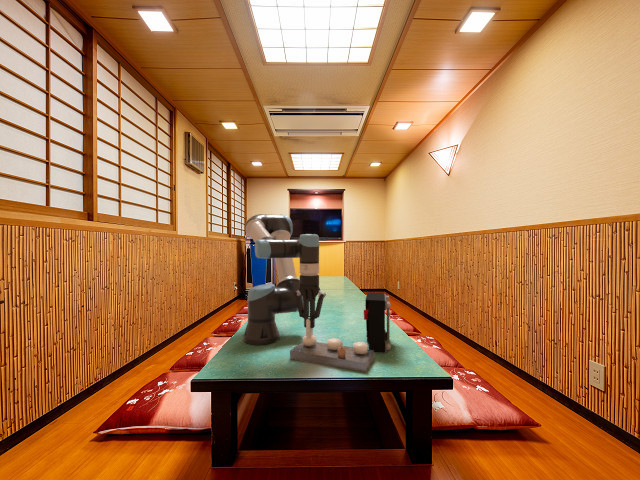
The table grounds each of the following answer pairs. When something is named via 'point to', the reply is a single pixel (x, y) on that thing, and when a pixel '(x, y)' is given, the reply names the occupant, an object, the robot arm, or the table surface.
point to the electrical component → (377, 321)
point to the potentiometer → (341, 351)
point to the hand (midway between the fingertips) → (309, 336)
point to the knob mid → (333, 343)
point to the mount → (332, 356)
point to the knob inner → (309, 340)
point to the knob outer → (360, 347)
